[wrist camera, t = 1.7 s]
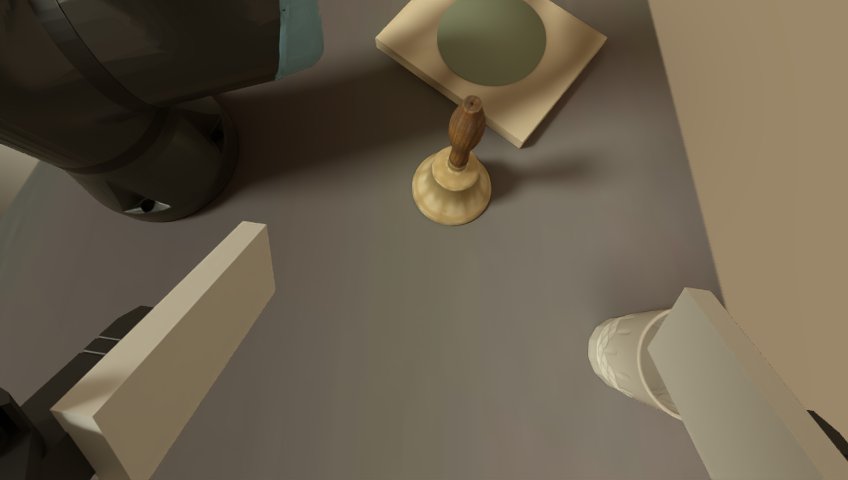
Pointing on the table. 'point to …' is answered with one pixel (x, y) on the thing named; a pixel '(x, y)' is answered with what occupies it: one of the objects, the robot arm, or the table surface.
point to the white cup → (631, 358)
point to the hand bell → (455, 171)
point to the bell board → (494, 55)
